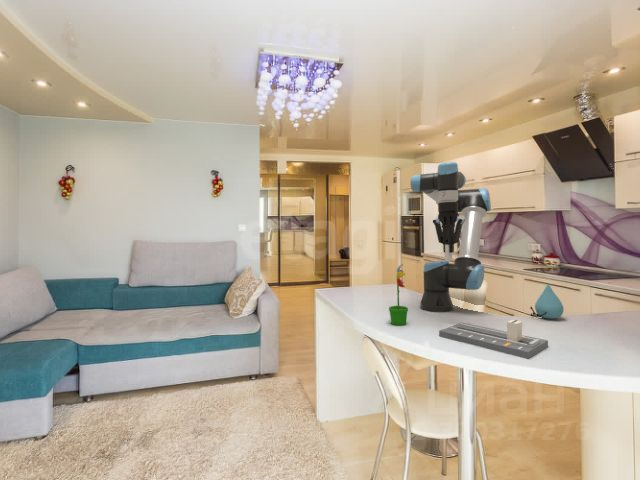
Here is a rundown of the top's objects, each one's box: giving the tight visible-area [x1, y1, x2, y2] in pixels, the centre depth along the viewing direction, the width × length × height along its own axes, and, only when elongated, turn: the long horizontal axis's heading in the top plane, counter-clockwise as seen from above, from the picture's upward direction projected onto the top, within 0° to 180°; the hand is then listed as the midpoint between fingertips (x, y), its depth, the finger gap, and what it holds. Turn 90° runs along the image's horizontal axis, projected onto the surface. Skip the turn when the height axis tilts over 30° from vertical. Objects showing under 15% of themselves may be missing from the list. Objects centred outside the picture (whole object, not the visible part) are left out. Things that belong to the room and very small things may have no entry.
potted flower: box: [388, 263, 409, 326], centre depth 146 cm, size 9×8×25 cm
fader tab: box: [506, 319, 523, 342], centre depth 116 cm, size 4×3×6 cm
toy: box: [530, 283, 564, 320], centre depth 149 cm, size 15×12×15 cm
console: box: [438, 322, 549, 360], centre depth 122 cm, size 16×30×3 cm, turn 39°
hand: (448, 260), depth 141 cm, fingers closed
